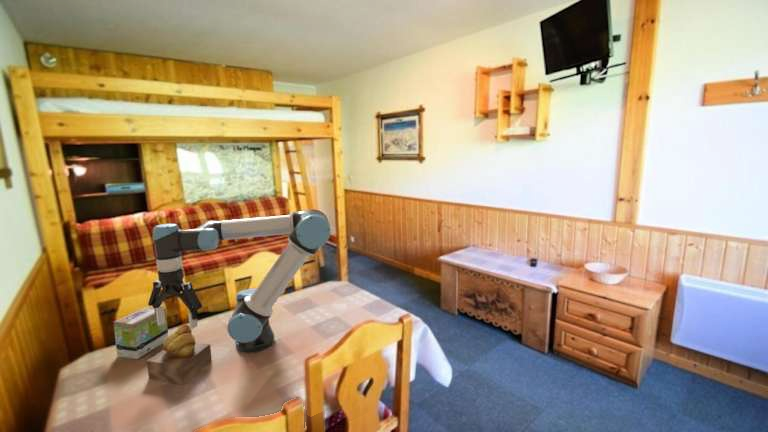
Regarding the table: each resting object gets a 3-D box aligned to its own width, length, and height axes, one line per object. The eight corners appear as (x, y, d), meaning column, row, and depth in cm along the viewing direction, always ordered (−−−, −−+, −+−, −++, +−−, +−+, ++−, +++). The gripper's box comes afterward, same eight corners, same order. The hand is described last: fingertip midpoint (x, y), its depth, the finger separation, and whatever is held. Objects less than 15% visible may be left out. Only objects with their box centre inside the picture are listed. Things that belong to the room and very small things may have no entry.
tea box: (138, 360, 131) (133, 324, 129) (116, 357, 133) (111, 321, 131) (169, 339, 146) (166, 307, 143) (150, 337, 148) (145, 305, 145)
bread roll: (200, 354, 123) (198, 333, 121) (169, 365, 116) (167, 343, 115) (190, 340, 132) (188, 321, 131) (161, 350, 125) (158, 329, 124)
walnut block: (211, 361, 131) (210, 344, 129) (183, 384, 117) (180, 366, 116) (180, 356, 133) (178, 339, 132) (148, 379, 120) (146, 360, 119)
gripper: (209, 267, 120) (215, 323, 123) (149, 263, 125) (157, 317, 129) (193, 274, 112) (200, 334, 116) (130, 270, 118) (139, 327, 121)
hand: (177, 325), depth 122 cm, fingers open, 13 cm apart
